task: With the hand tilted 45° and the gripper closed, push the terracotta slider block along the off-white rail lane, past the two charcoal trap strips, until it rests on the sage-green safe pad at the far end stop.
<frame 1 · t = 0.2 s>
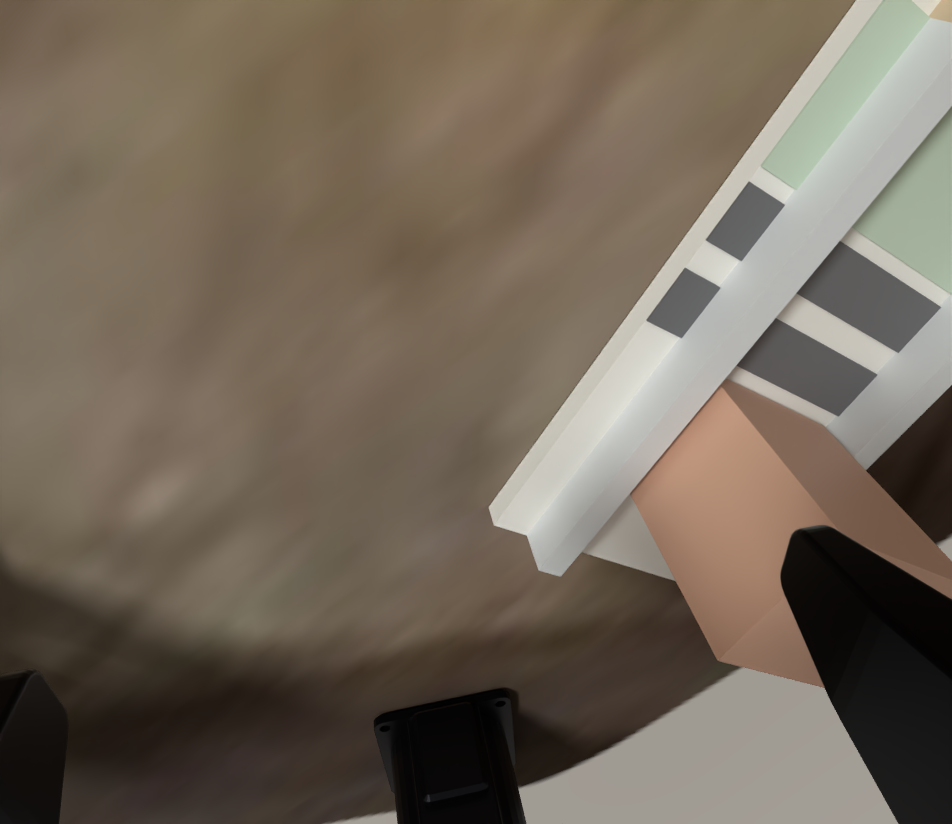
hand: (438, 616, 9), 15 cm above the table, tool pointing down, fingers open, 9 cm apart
slider block: (778, 526, 24), point 5 cm above the table, slide at 0.0 cm
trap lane: (780, 344, 27), on the table
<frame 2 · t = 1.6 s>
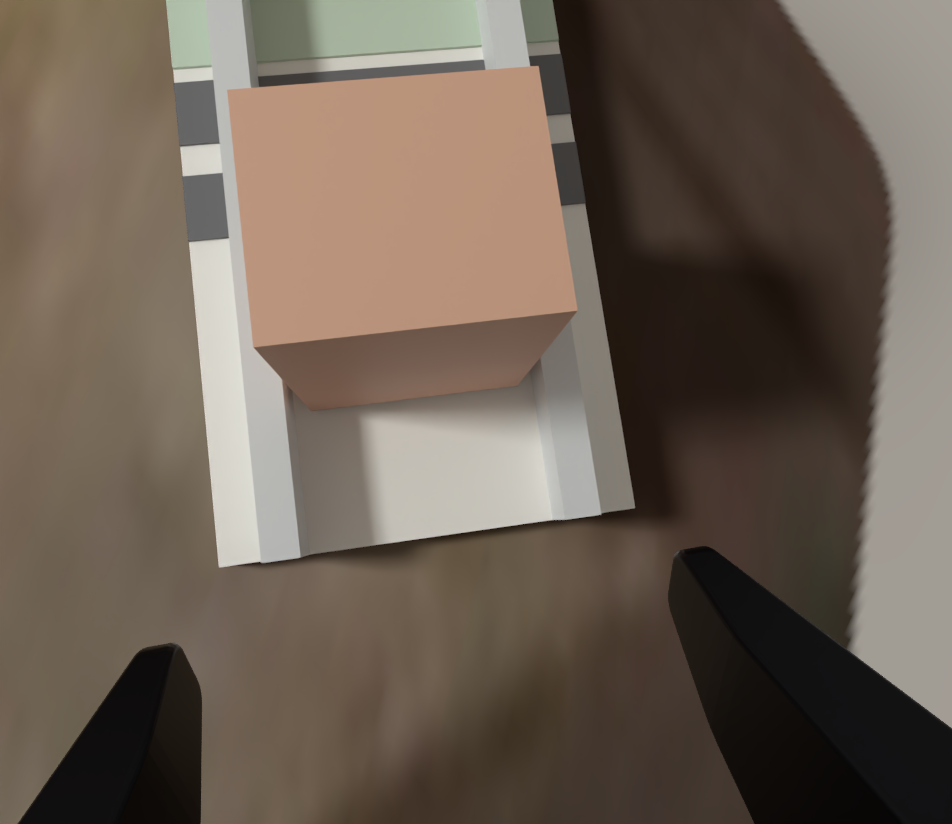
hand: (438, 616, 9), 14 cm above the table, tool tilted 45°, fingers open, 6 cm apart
slider block: (403, 270, 18), point 5 cm above the table, slide at 0.0 cm
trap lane: (389, 201, 24), on the table
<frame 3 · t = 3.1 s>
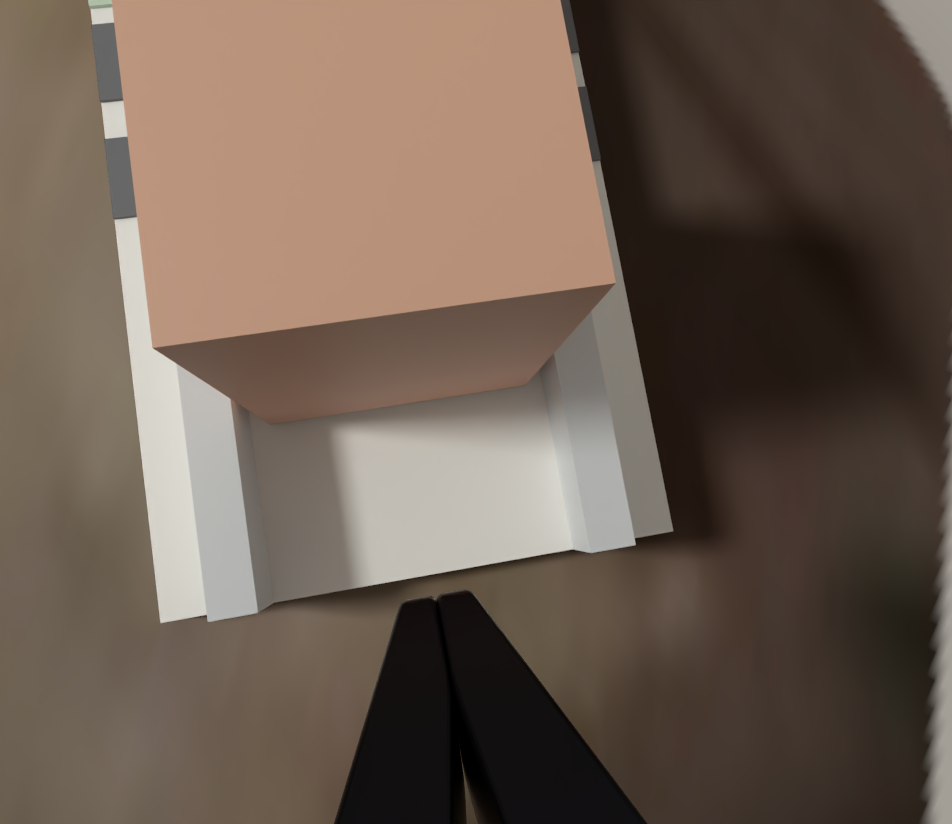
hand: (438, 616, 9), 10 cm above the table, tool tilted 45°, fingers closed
slider block: (376, 241, 14), point 5 cm above the table, slide at 0.0 cm
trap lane: (361, 165, 20), on the table
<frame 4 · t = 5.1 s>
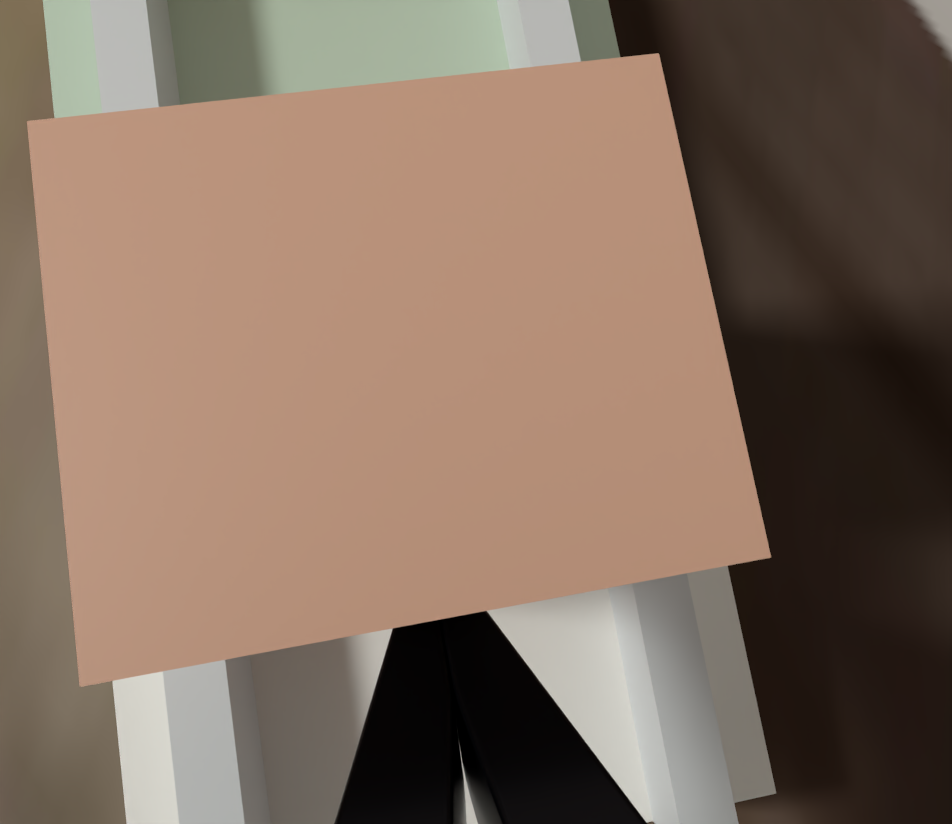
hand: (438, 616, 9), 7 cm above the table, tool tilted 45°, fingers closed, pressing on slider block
slider block: (403, 408, 11), point 5 cm above the table, slide at 1.4 cm, touching gripper
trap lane: (386, 326, 16), on the table
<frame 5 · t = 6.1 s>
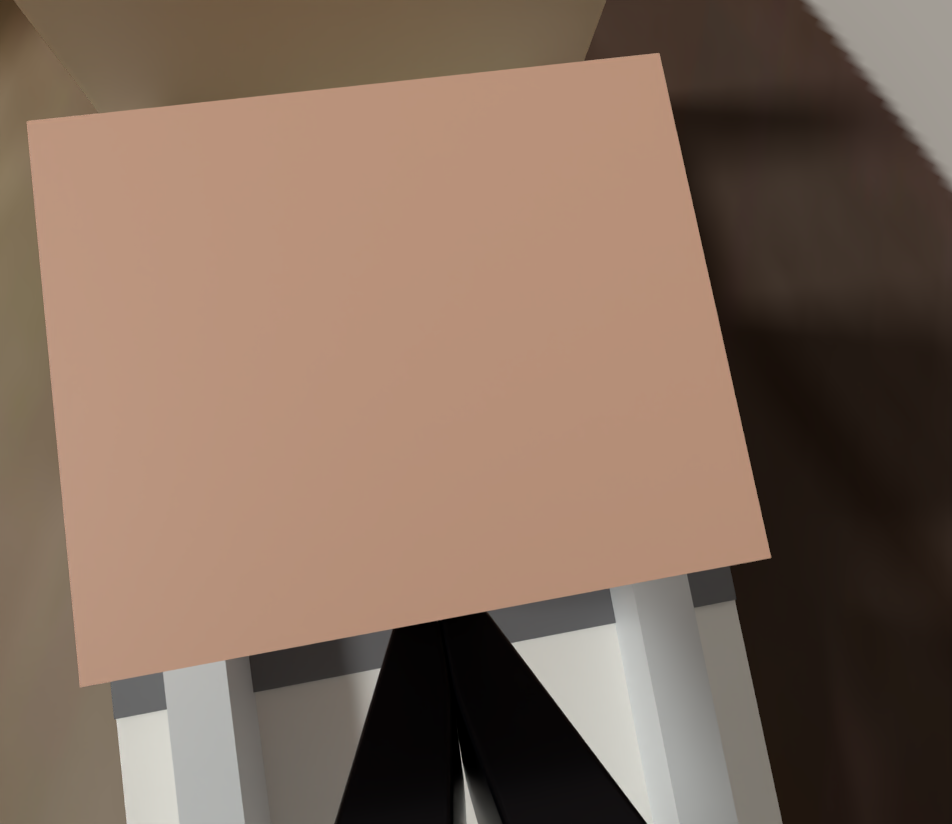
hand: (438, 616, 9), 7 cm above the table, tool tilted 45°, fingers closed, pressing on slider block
slider block: (403, 408, 11), point 5 cm above the table, slide at 7.2 cm, touching gripper
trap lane: (429, 593, 16), on the table
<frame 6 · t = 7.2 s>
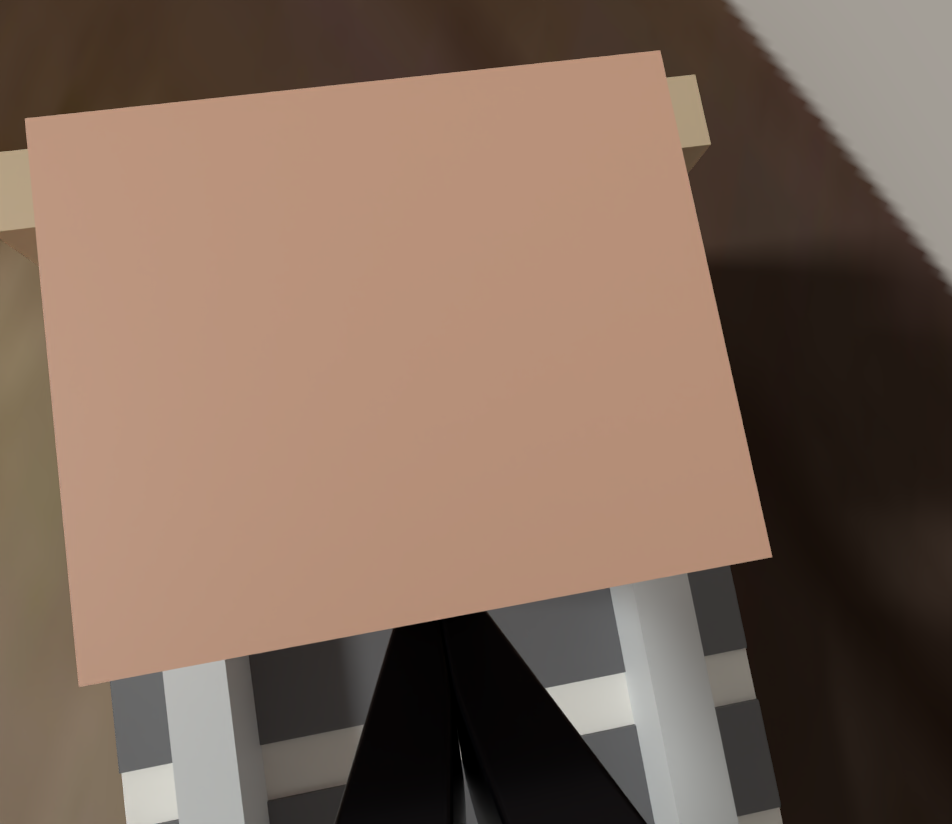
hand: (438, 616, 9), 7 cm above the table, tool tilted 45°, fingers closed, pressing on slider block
slider block: (402, 407, 11), point 5 cm above the table, slide at 11.1 cm, touching gripper
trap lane: (460, 792, 15), on the table
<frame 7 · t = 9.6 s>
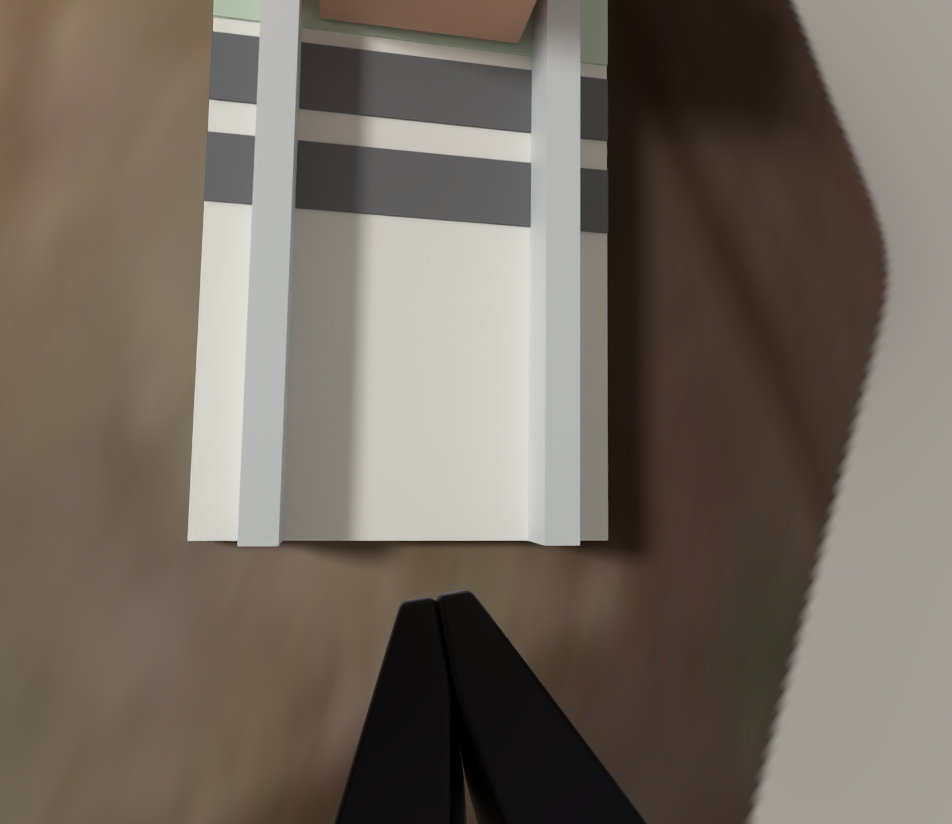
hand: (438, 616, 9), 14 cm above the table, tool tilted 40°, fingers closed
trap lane: (413, 194, 23), on the table
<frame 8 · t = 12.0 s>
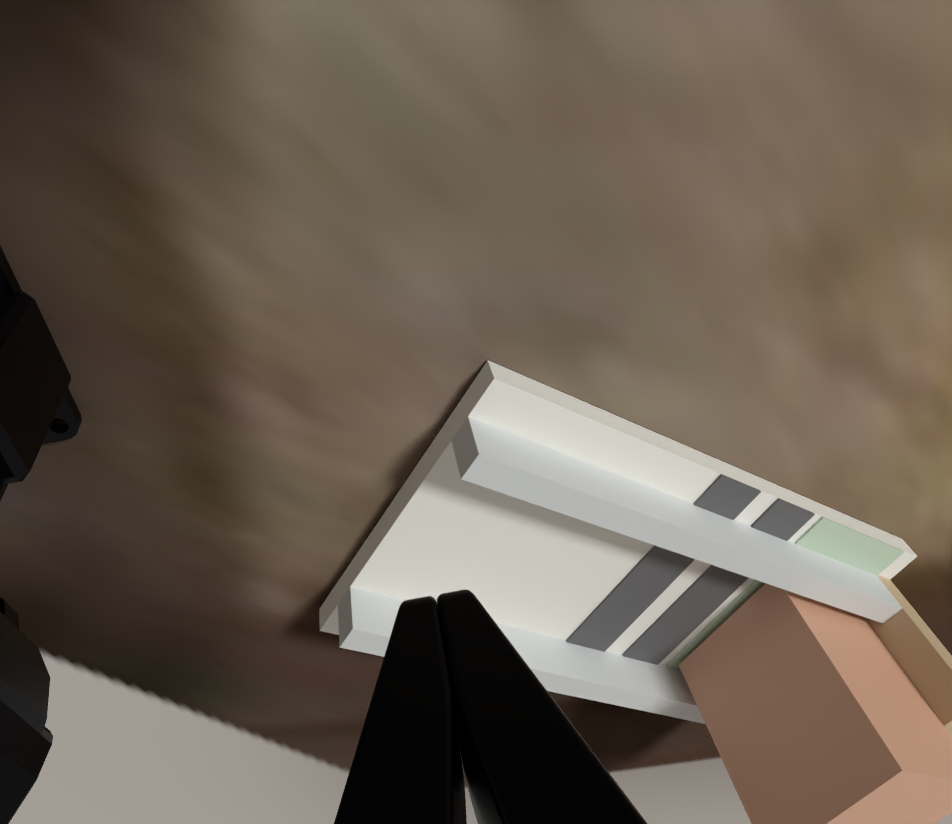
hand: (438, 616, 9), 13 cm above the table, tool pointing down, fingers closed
slider block: (815, 719, 29), point 5 cm above the table, slide at 11.2 cm
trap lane: (630, 571, 30), on the table
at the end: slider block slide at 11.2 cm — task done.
